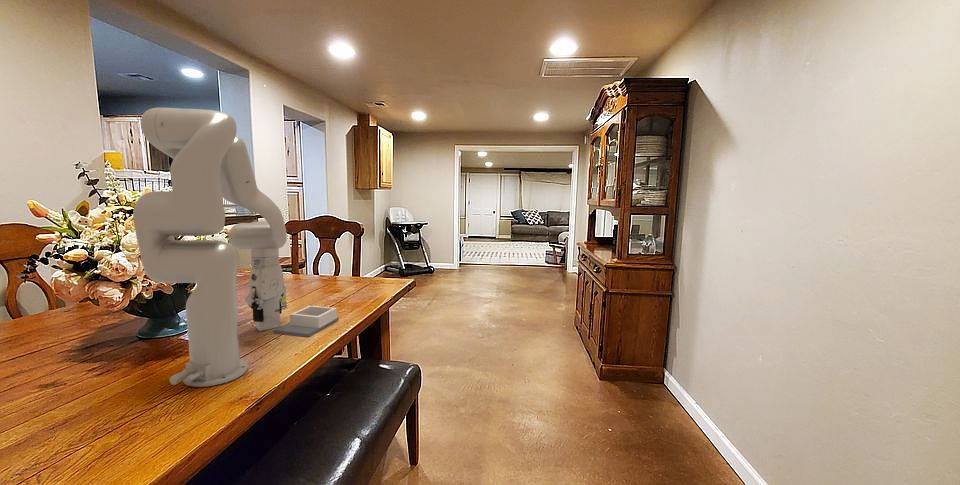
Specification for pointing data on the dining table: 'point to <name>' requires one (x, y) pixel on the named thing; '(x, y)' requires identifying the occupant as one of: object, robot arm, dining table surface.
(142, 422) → the dining table surface
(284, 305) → the supplement bottle
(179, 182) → the robot arm
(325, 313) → the socket holder
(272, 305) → the skincare box
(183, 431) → the dining table surface
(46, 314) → the dining table surface
